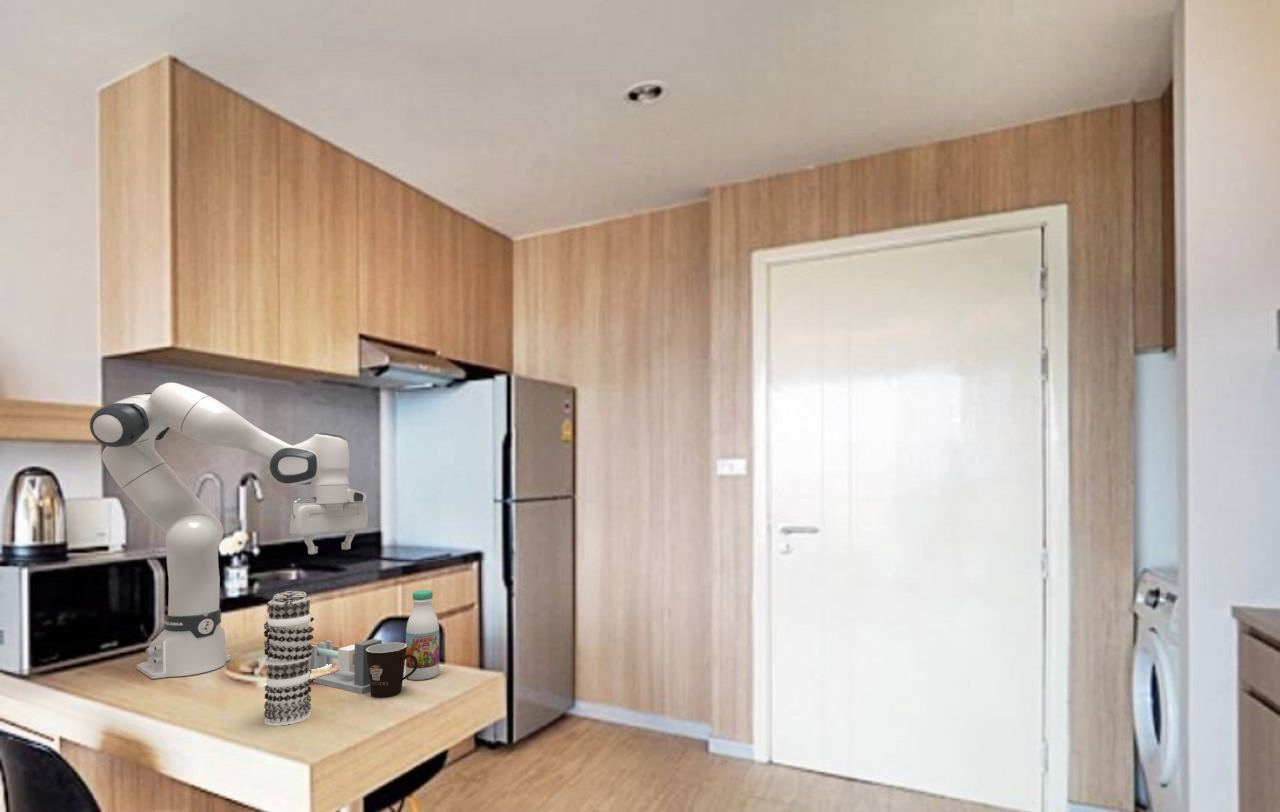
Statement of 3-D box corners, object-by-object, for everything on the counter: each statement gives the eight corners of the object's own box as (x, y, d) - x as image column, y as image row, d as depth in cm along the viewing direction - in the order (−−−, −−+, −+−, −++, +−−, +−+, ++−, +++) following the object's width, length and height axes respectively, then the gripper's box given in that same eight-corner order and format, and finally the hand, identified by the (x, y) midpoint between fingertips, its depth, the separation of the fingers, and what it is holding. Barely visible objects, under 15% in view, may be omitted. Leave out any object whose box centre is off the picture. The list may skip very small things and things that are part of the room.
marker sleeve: (337, 669, 163) (337, 648, 163) (354, 663, 167) (354, 644, 167) (348, 671, 161) (349, 651, 161) (365, 666, 165) (366, 646, 165)
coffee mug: (358, 694, 156) (358, 648, 157) (394, 684, 162) (395, 640, 163) (383, 705, 148) (384, 657, 149) (420, 695, 154) (421, 648, 155)
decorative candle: (265, 714, 145) (267, 591, 147) (314, 707, 148) (316, 587, 150) (258, 729, 136) (260, 598, 138) (310, 722, 139) (312, 594, 141)
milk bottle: (400, 676, 169) (400, 591, 170) (430, 669, 174) (430, 587, 175) (414, 683, 163) (414, 595, 164) (445, 675, 168) (445, 591, 170)
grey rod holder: (301, 679, 167) (302, 636, 168) (327, 671, 173) (328, 629, 174) (362, 693, 156) (362, 647, 157) (387, 684, 162) (388, 639, 163)
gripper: (300, 499, 168) (299, 557, 167) (371, 494, 186) (371, 547, 185) (284, 498, 171) (283, 556, 170) (356, 494, 189) (355, 546, 188)
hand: (329, 551), depth 178 cm, fingers open, 8 cm apart
